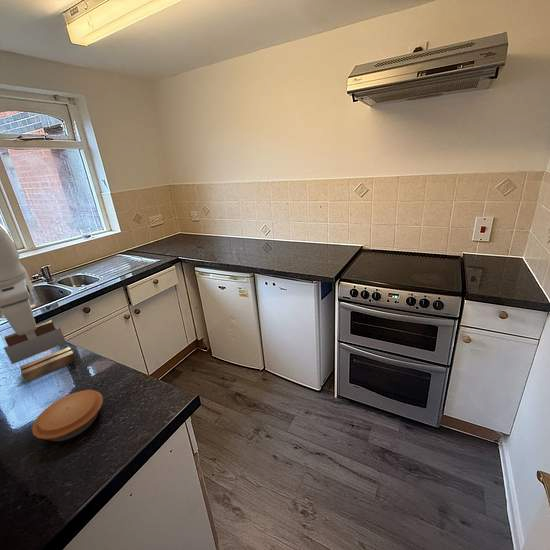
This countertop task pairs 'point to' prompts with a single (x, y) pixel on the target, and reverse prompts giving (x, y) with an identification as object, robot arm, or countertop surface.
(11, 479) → the countertop surface
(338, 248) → the countertop surface
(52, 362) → the knife stand
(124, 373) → the countertop surface
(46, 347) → the brown wooden block
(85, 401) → the pie
